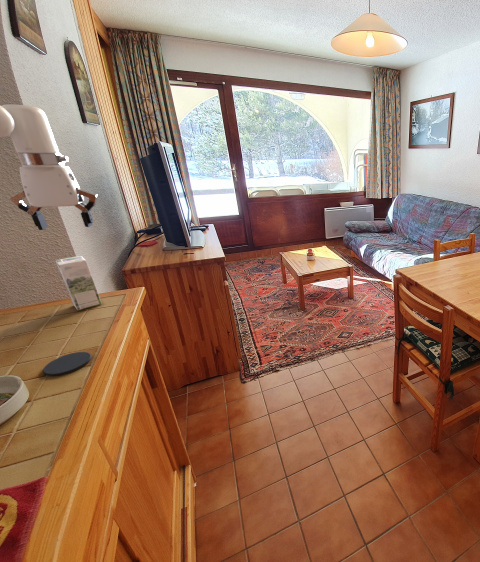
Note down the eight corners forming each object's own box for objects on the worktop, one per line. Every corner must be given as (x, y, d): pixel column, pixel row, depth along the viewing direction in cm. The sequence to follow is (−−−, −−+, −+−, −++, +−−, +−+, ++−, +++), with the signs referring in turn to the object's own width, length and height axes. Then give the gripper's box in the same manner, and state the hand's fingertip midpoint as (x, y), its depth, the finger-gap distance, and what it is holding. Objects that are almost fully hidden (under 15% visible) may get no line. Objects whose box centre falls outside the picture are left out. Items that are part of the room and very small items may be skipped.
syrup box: (97, 299, 96) (81, 254, 91) (102, 304, 93) (86, 259, 87) (73, 305, 92) (54, 259, 86) (77, 311, 89) (58, 264, 83)
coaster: (36, 380, 63) (35, 377, 62) (53, 358, 69) (52, 356, 69) (84, 370, 66) (83, 368, 65) (96, 350, 72) (95, 348, 72)
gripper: (90, 160, 85) (110, 222, 91) (3, 160, 78) (32, 227, 85) (79, 161, 78) (101, 227, 85) (-16, 161, 72) (16, 233, 78)
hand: (66, 227), depth 85 cm, fingers open, 9 cm apart
